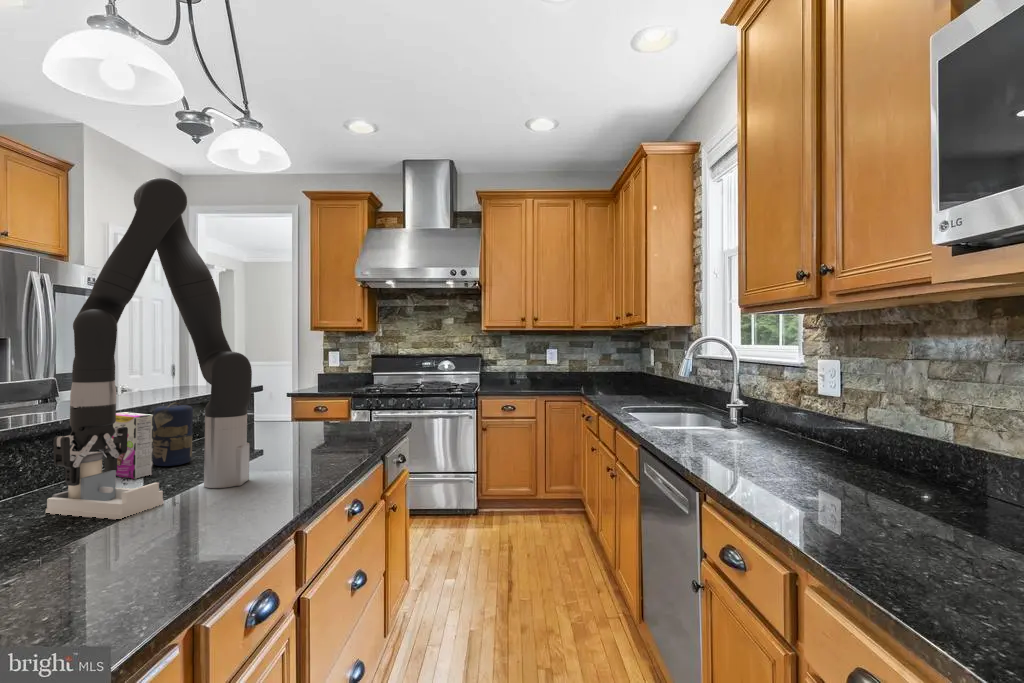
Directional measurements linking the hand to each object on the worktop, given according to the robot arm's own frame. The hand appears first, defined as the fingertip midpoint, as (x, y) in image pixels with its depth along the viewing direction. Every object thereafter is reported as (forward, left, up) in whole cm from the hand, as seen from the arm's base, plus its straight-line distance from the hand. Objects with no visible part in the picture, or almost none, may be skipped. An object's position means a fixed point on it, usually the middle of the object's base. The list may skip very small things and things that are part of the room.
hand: (92, 480), depth 105 cm
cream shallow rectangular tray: (-4, +1, -6) cm, 7 cm away
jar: (+1, 0, -5) cm, 5 cm away
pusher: (-3, +1, -5) cm, 6 cm away
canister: (+2, -40, -6) cm, 40 cm away
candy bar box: (+7, -28, -6) cm, 29 cm away
